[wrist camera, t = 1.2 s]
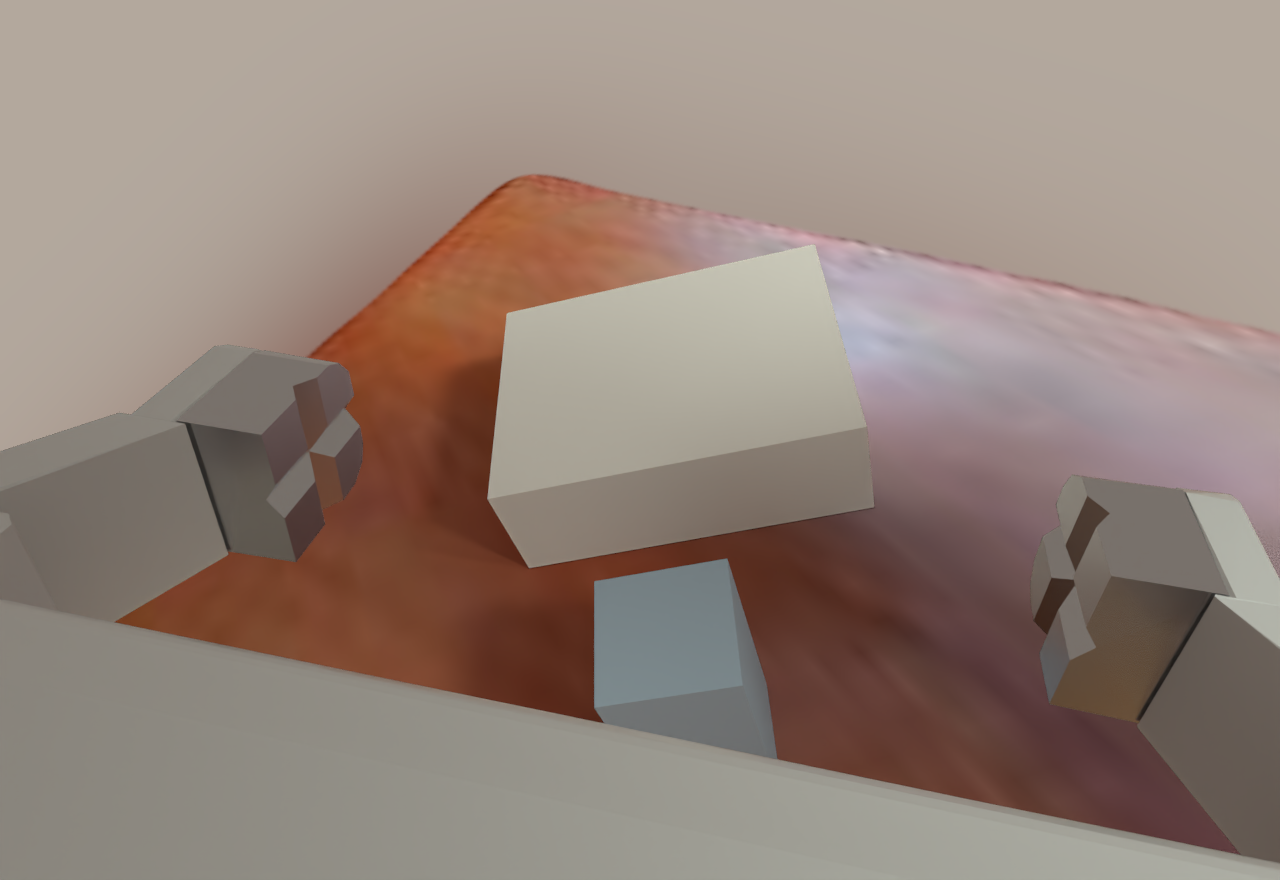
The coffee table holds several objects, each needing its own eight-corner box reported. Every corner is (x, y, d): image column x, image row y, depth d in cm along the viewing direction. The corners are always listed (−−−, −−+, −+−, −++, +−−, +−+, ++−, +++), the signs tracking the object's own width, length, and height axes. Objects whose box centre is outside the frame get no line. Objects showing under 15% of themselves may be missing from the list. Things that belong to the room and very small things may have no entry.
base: (824, 325, 54) (814, 244, 49) (874, 507, 44) (867, 426, 40) (540, 384, 56) (507, 313, 52) (529, 568, 47) (487, 499, 43)
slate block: (766, 684, 39) (727, 558, 32) (782, 798, 36) (742, 685, 29) (656, 701, 40) (594, 581, 33) (662, 814, 37) (594, 707, 30)
